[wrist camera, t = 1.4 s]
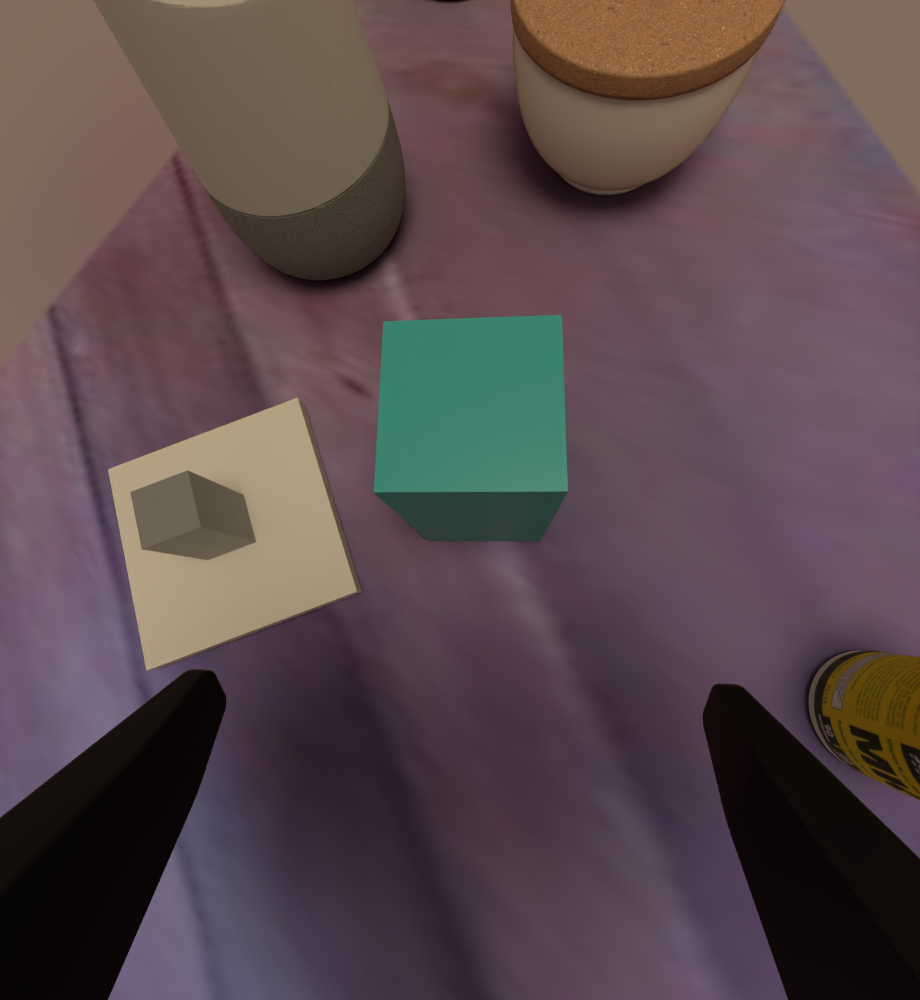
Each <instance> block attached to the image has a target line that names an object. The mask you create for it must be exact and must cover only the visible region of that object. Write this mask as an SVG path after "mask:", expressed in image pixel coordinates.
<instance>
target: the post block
mask: <svg viewBox="0 0 920 1000" xmlns="http://www.w3.org/2000/svg"><path fill="white" fill-rule="evenodd" d="M108 471H109V477H110V482H111V487H112V492H113V497H114V503H115V508H116V513H117V518H118V524H119V529H120V534H121V539H122V545H123V550H124V555H125V560H126V566H127V571H128V576H129V581H130V587H131V592H132V597H133V602H134V608H135V613H136V618H137V623H138V628H139V634H140V639H141V644H142V649H143V655H144V660H145V665H146V670H147V671H148V670H154V669H159V668H162V667H164V666H167V665H170V664H172V663H175V662H178V661H180V660H183V659H186V658H188V657H191V656H194V655H196V654H199V653H202V652H204V651H207V650H210V649H212V648H215V647H218V646H220V645H223V644H226V643H228V642H231V641H234V640H236V639H239V638H242V637H244V636H247V635H249V634H252V633H255V632H257V631H260V630H263V629H265V628H268V627H271V626H273V625H276V624H279V623H281V622H284V621H287V620H289V619H292V618H295V617H297V616H300V615H303V614H305V613H308V612H311V611H313V610H316V609H319V608H321V607H324V606H327V605H329V604H332V603H335V602H337V601H340V600H342V599H345V598H348V597H350V596H353V595H356V594H358V593H361V592H362V590H361V587H360V584H359V581H358V578H357V574H356V571H355V568H354V565H353V561H352V558H351V555H350V552H349V548H348V545H347V542H346V539H345V535H344V532H343V529H342V526H341V522H340V519H339V516H338V513H337V509H336V506H335V503H334V500H333V496H332V493H331V490H330V487H329V483H328V480H327V477H326V474H325V470H324V467H323V464H322V461H321V457H320V454H319V451H318V448H317V444H316V441H315V438H314V435H313V431H312V428H311V425H310V422H309V419H308V415H307V412H306V409H305V406H304V404H303V403H302V402H301V401H300V400H299V399H298V398H295V399H293V400H290V401H287V402H285V403H282V404H280V405H277V406H274V407H272V408H269V409H266V410H264V411H261V412H258V413H256V414H253V415H250V416H248V417H245V418H243V419H240V420H237V421H235V422H232V423H229V424H227V425H224V426H221V427H219V428H216V429H213V430H211V431H208V432H206V433H203V434H200V435H198V436H195V437H192V438H190V439H187V440H184V441H182V442H179V443H176V444H174V445H171V446H169V447H166V448H163V449H161V450H158V451H155V452H153V453H150V454H147V455H145V456H142V457H139V458H137V459H134V460H132V461H129V462H126V463H124V464H121V465H118V466H116V467H113V468H110V469H108Z"/></svg>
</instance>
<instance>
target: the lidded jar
mask: <svg viewBox="0 0 920 1000" xmlns="http://www.w3.org/2000/svg"><path fill="white" fill-rule="evenodd" d="M784 2H785V0H510V3H511V14H512V23H513V63H514V72H515V82H516V92H517V98H518V103H519V108H520V113H521V116H522V119H523V122H524V125H525V128H526V130H527V133H528V135H529V138H530V139H531V141H532V143H533V145H534V147H535V148H536V150H537V151H538V153H539V154H540V156H541V157H542V158H543V159H544V161H545V162H546V163H547V164H548V165H549V166H550V167H551V168H552V169H554V170H555V171H556V172H557V173H558V174H559V175H560V176H561V178H562V179H563V180H565V181H566V182H567V183H568V184H570V185H571V186H573V187H574V188H576V189H578V190H581V191H583V192H586V193H590V194H595V195H617V194H622V193H626V192H629V191H632V190H634V189H637V188H638V187H640V186H642V185H644V184H645V183H648V182H650V181H653V180H655V179H658V178H660V177H661V176H663V175H665V174H667V173H668V172H670V171H671V170H673V169H674V168H675V167H677V166H678V165H680V164H681V163H682V162H683V161H685V160H686V159H687V158H688V157H689V156H690V155H691V154H692V153H693V152H694V151H695V150H696V149H697V148H698V147H699V146H700V145H701V144H702V143H703V142H704V141H705V140H706V139H707V138H708V136H709V135H710V134H711V133H712V131H713V130H714V128H715V127H716V126H717V124H718V123H719V122H720V120H721V119H722V117H723V116H724V114H725V113H726V111H727V110H728V108H729V107H730V105H731V103H732V102H733V100H734V98H735V97H736V95H737V93H738V92H739V90H740V88H741V87H742V85H743V83H744V81H745V79H746V77H747V75H748V73H749V71H750V69H751V67H752V65H753V63H754V61H755V59H756V57H757V54H758V52H759V50H760V48H761V46H762V45H763V43H764V41H765V40H766V38H767V37H768V35H769V34H770V32H771V30H772V29H773V27H774V25H775V23H776V21H777V19H778V16H779V14H780V12H781V10H782V7H783V5H784Z"/></svg>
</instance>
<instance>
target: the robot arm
mask: <svg viewBox="0 0 920 1000" xmlns="http://www.w3.org/2000/svg"><path fill="white" fill-rule="evenodd" d="M225 708H226V695H225V693H224V691H223V689H222V687H221V685H220V683H219V681H218V679H217V677H216V675H215V673H214V672H213V671H212V670H210V669H190V670H188V671H186V672H184V673H183V674H182V675H180V676H179V677H178V678H177V679H175V680H174V681H173V682H171V683H170V684H169V685H168V686H166V687H165V688H164V689H163V690H161V691H160V692H159V693H158V694H156V695H155V696H154V697H152V698H151V699H150V700H149V701H147V702H146V703H145V704H144V705H142V706H141V707H140V708H139V709H137V710H136V711H135V712H133V713H132V714H131V715H130V716H128V717H127V718H126V719H125V720H123V721H122V722H121V723H119V724H118V725H117V726H116V727H114V728H113V729H112V730H111V731H109V732H108V733H107V734H106V735H104V736H103V737H102V738H100V739H99V740H98V741H97V742H95V743H94V744H93V745H92V746H90V747H89V748H88V749H87V750H85V751H84V752H83V753H81V754H80V755H79V756H78V757H76V758H75V759H74V760H73V761H71V762H70V763H69V764H68V765H66V766H65V767H64V768H62V769H61V770H60V771H59V772H57V773H56V774H55V775H54V776H52V777H51V778H50V779H48V780H47V781H46V782H45V783H43V784H42V785H41V786H40V787H38V788H37V789H36V790H35V791H33V792H32V793H31V794H29V795H28V796H27V797H26V798H24V799H23V800H22V801H21V802H19V803H18V804H17V805H16V806H14V807H13V808H12V809H10V810H9V811H8V812H7V813H5V814H4V815H3V816H2V817H0V1000H108V998H109V996H110V994H111V991H112V989H113V987H114V984H115V982H116V980H117V977H118V975H119V973H120V971H121V968H122V966H123V964H124V961H125V959H126V957H127V954H128V952H129V950H130V948H131V945H132V943H133V941H134V938H135V936H136V934H137V931H138V929H139V927H140V925H141V922H142V920H143V918H144V915H145V913H146V911H147V908H148V906H149V904H150V902H151V899H152V897H153V895H154V892H155V890H156V888H157V885H158V883H159V881H160V879H161V876H162V874H163V872H164V869H165V867H166V865H167V862H168V860H169V858H170V856H171V853H172V851H173V849H174V846H175V844H176V842H177V839H178V837H179V835H180V833H181V830H182V828H183V826H184V823H185V821H186V819H187V816H188V814H189V812H190V810H191V807H192V805H193V802H194V800H195V798H196V795H197V793H198V790H199V787H200V784H201V781H202V779H203V776H204V773H205V770H206V766H207V763H208V760H209V757H210V754H211V751H212V748H213V745H214V742H215V739H216V736H217V733H218V730H219V727H220V724H221V721H222V718H223V715H224V712H225ZM703 726H704V730H705V734H706V739H707V743H708V747H709V751H710V755H711V760H712V764H713V768H714V772H715V776H716V781H717V785H718V789H719V793H720V798H721V802H722V806H723V810H724V813H725V817H726V821H727V824H728V827H729V830H730V834H731V837H732V840H733V842H734V845H735V848H736V851H737V854H738V857H739V860H740V863H741V865H742V868H743V871H744V874H745V877H746V880H747V883H748V886H749V889H750V891H751V894H752V897H753V900H754V903H755V906H756V909H757V912H758V914H759V917H760V920H761V923H762V926H763V929H764V932H765V935H766V937H767V940H768V943H769V946H770V949H771V952H772V955H773V958H774V961H775V963H776V966H777V969H778V972H779V975H780V978H781V981H782V984H783V986H784V989H785V992H786V995H787V998H788V1000H920V858H919V857H918V856H917V855H916V854H915V853H914V852H913V851H912V850H911V849H910V848H909V847H908V846H907V845H906V844H905V843H904V842H903V841H902V840H901V839H900V838H898V837H897V836H896V835H895V834H894V833H893V832H892V831H891V830H890V829H889V828H888V827H887V826H886V825H885V824H884V823H883V822H882V821H881V820H880V819H879V818H878V817H877V816H876V815H875V814H874V813H873V812H872V811H871V810H870V809H869V808H867V807H866V806H865V805H864V804H863V803H862V802H861V801H860V800H859V799H858V798H857V797H856V796H855V795H854V794H853V793H852V792H851V791H850V790H849V789H848V788H847V787H846V786H845V785H844V784H843V783H842V782H841V781H840V780H839V779H838V778H837V777H835V776H834V775H833V774H832V773H831V772H830V771H829V770H828V769H827V768H826V767H825V766H824V765H823V764H822V763H821V762H820V761H819V760H818V759H817V758H816V757H815V756H814V755H813V754H812V753H811V752H810V751H809V750H808V749H807V748H806V747H804V746H803V745H802V744H801V743H800V742H799V741H798V740H797V739H796V738H795V737H794V736H793V735H792V734H791V733H790V732H789V731H788V730H787V729H786V728H785V727H784V726H783V725H782V724H781V723H780V722H779V721H778V720H777V719H776V718H775V717H774V716H772V715H771V714H770V713H769V712H768V711H767V710H766V709H765V708H764V707H763V706H762V705H761V704H760V703H759V702H758V701H757V700H756V699H755V698H754V697H753V696H752V695H751V694H750V693H749V692H748V691H747V690H746V689H744V688H743V687H742V686H740V685H736V684H715V685H714V686H713V687H712V689H711V692H710V694H709V697H708V700H707V703H706V705H705V708H704V711H703Z"/></svg>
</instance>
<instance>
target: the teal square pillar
mask: <svg viewBox="0 0 920 1000" xmlns="http://www.w3.org/2000/svg"><path fill="white" fill-rule="evenodd" d="M567 492H568V484H567V454H566V424H565V394H564V364H563V334H562V315H547V316H519V317H492V318H464V319H437V320H409V321H384V322H383V339H382V357H381V375H380V392H379V410H378V427H377V445H376V463H375V480H374V493H375V494H376V495H377V496H378V497H380V498H381V499H382V500H383V501H384V502H385V503H386V504H387V505H388V506H390V507H391V508H392V509H393V510H394V511H395V512H396V513H397V514H398V515H400V516H401V517H402V518H403V519H404V520H405V521H406V522H407V523H408V524H410V525H411V526H412V527H413V528H414V529H415V530H416V531H417V532H418V533H419V534H421V535H422V536H423V537H424V538H425V539H426V540H427V541H541V539H542V537H543V536H544V534H545V532H546V530H547V528H548V526H549V525H550V523H551V521H552V519H553V517H554V516H555V514H556V512H557V510H558V508H559V506H560V505H561V503H562V501H563V499H564V497H565V496H566V494H567Z"/></svg>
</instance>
